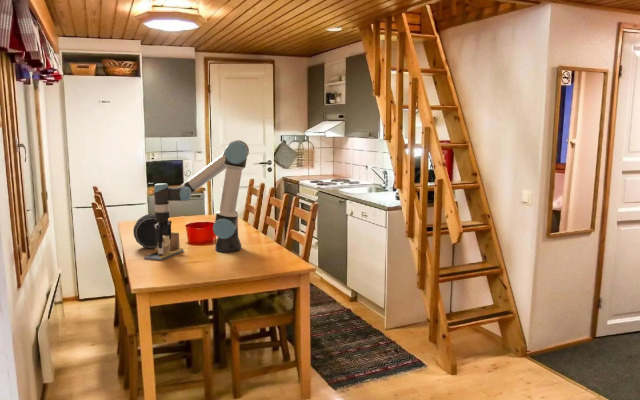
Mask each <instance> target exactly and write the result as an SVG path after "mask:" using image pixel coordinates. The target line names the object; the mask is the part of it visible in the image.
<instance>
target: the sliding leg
mask: <svg viewBox="0 0 640 400" xmlns="http://www.w3.org/2000/svg"><path fill="white" fill-rule="evenodd" d="M162 242H163V243H164V254H161V255H165V254H167V253H170V240H169V236H166V235H163V241H162ZM154 250H155V251H156V252H157V253H158V254H159V248H158V247H155V248H154Z"/></svg>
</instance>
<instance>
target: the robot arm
mask: <svg viewBox="0 0 640 400" xmlns="http://www.w3.org/2000/svg"><path fill="white" fill-rule="evenodd" d="M249 154H250V149H249V146H248V144H247V143H246V142H245V141H243V140H238V139H237V140H234V141H231V142H229V143H228V144H227V146H226V148H225V149H224V150H223V151H222V154H221V155H220V156H218V157H217V158H215V159H214V160H213V161H211V162H210V163H209V164H207V165H206V166H205V167H203V168H201V170H199V171H198V172H197V173H195V174H194V175H193V176H191V177H190V178H188V179H187V180H185V181H184V182H183V183H181V184H180V185H179V186H177V187H176V186H175V187H174V186H169V184H168V183H163V182H162V183H161V182H160V183H159V182H158V183H155V184H154V185H153V195H154V196H153V197H154V211H155V213H154V214H155V218H156V219H157V224H156V225H154V230H155V242H158V247H157V248H159V254H164V243H163V242H162V241H163V233H164V235H166V236H169V240H171V239H170V238H171V232H172V220H169V219H170V202H185V201H186V202H187V201H191V199H192V194H193V193H195V192H196V191H197V190H198V189H200V188H201V187H202V186H204V185H206V183H208V182H209V181H211V180H212V179H214V178H215V177H216V176H218V175H219V174H221V173H222V172H223V171H225V175H224V179H223V181H224V182H223V187H222V193H221V201H220V205H219V206H220V207H219V209H218V210H217V211H216V213H215V219H214V223H213V226H212V230H213V233H214V235H215V236H216V237H217V239H216V242H215V247H214V249H215V251H216V252H218V253H235V252H239V251H240V250H242V244H241V243H242V242H241V240H240V237H239V223H238V222H239V214H238V211H236V210H237V209H236V208H237V202H238V197H239V190H240V183H241V178H242V173H243V170H244V169H245V168H246V165H247V160H248V159H247V158H248V157H249ZM160 228H161V229H160Z"/></svg>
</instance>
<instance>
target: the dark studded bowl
mask: <svg viewBox="0 0 640 400" xmlns="http://www.w3.org/2000/svg"><path fill="white" fill-rule="evenodd" d="M156 224H157V219H156V218H155V213H151V214H145V215H143V216H141V217H140V218H139V219H137V221H136V222H135V223H134V226H133V237H134V239H135V241H136V242H137V243H138V244H139V245H140V246H142V247H143V248H147V249H155V248H156V247H157V248H158V242H155V230H154V225H156ZM160 229H161V228H160ZM163 235H164V233H163Z"/></svg>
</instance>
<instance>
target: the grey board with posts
mask: <svg viewBox="0 0 640 400" xmlns="http://www.w3.org/2000/svg"><path fill="white" fill-rule="evenodd" d="M170 239H171V240H170V253H167V254H165V255H161V254H158V253H157V251H155V252H153V253H151V254H148V255H145V256H144V257H143V260H150V261H159V262H162V261H165V260H167V259H169V258H171V257H174V256H177V255H179V254H181V253H182V252H183V253H184V248H183V247H180V233H179V232H174V231H173V232H172V231H171V238H170Z"/></svg>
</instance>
